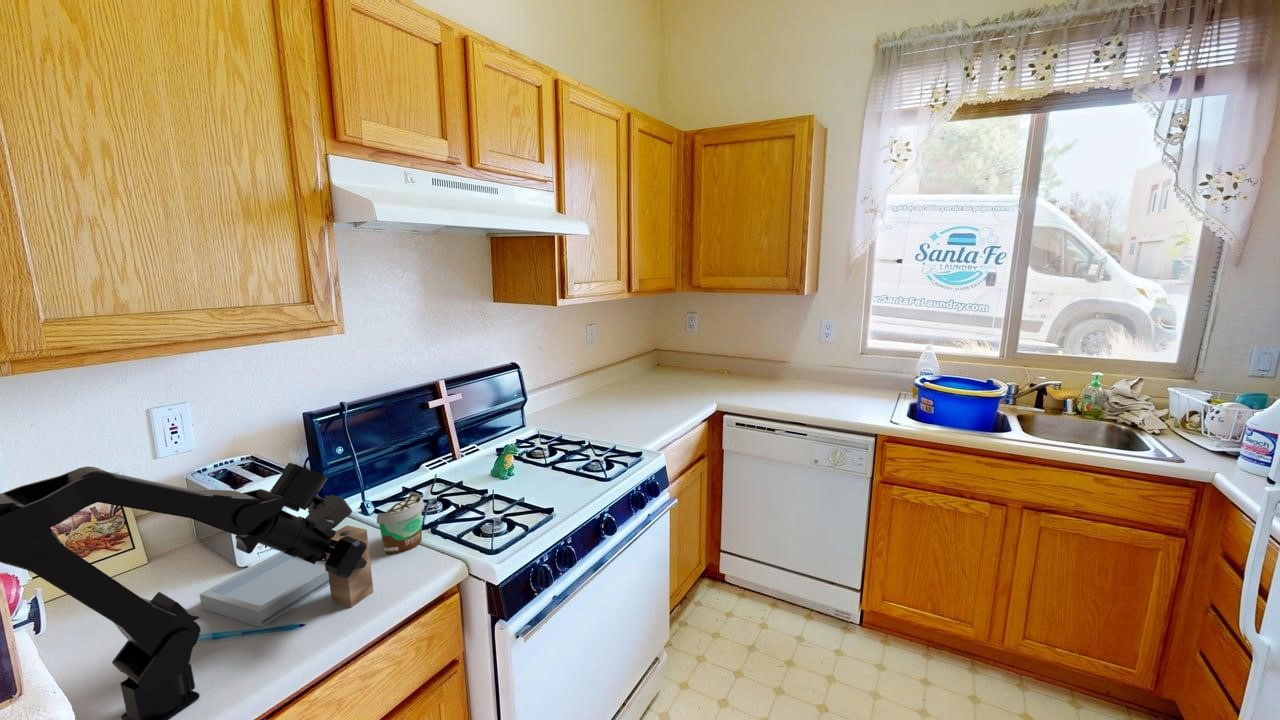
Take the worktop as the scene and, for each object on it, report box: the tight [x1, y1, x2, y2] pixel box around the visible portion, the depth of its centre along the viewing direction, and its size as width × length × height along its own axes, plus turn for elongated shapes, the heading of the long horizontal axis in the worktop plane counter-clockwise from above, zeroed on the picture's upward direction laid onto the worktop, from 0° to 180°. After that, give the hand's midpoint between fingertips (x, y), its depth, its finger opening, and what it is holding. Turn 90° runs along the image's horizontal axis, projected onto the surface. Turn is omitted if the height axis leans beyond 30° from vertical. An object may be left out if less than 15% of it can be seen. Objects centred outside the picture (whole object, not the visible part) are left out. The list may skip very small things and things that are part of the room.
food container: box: [376, 491, 425, 555], centre depth 120 cm, size 12×6×10 cm, turn 168°
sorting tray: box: [199, 551, 330, 628], centre depth 105 cm, size 20×16×3 cm
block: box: [326, 524, 374, 608], centre depth 101 cm, size 5×5×13 cm
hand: (355, 561), depth 102 cm, fingers closed on block, 5 cm apart
